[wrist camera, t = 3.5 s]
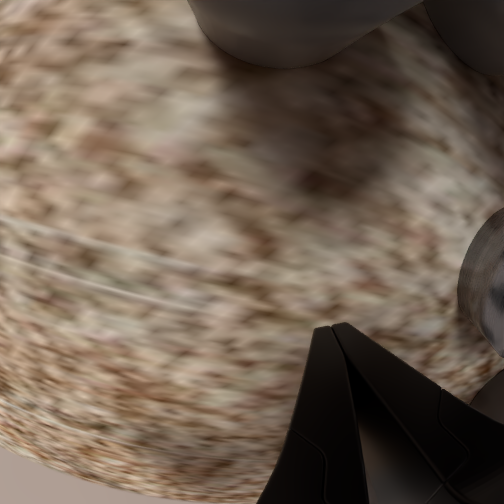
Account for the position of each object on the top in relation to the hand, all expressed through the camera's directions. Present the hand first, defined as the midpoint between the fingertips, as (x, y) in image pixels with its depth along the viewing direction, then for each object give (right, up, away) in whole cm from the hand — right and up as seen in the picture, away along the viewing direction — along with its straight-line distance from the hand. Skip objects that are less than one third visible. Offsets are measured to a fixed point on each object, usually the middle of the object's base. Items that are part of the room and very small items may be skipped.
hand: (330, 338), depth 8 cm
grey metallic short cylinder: (+7, +2, +1) cm, 7 cm away
